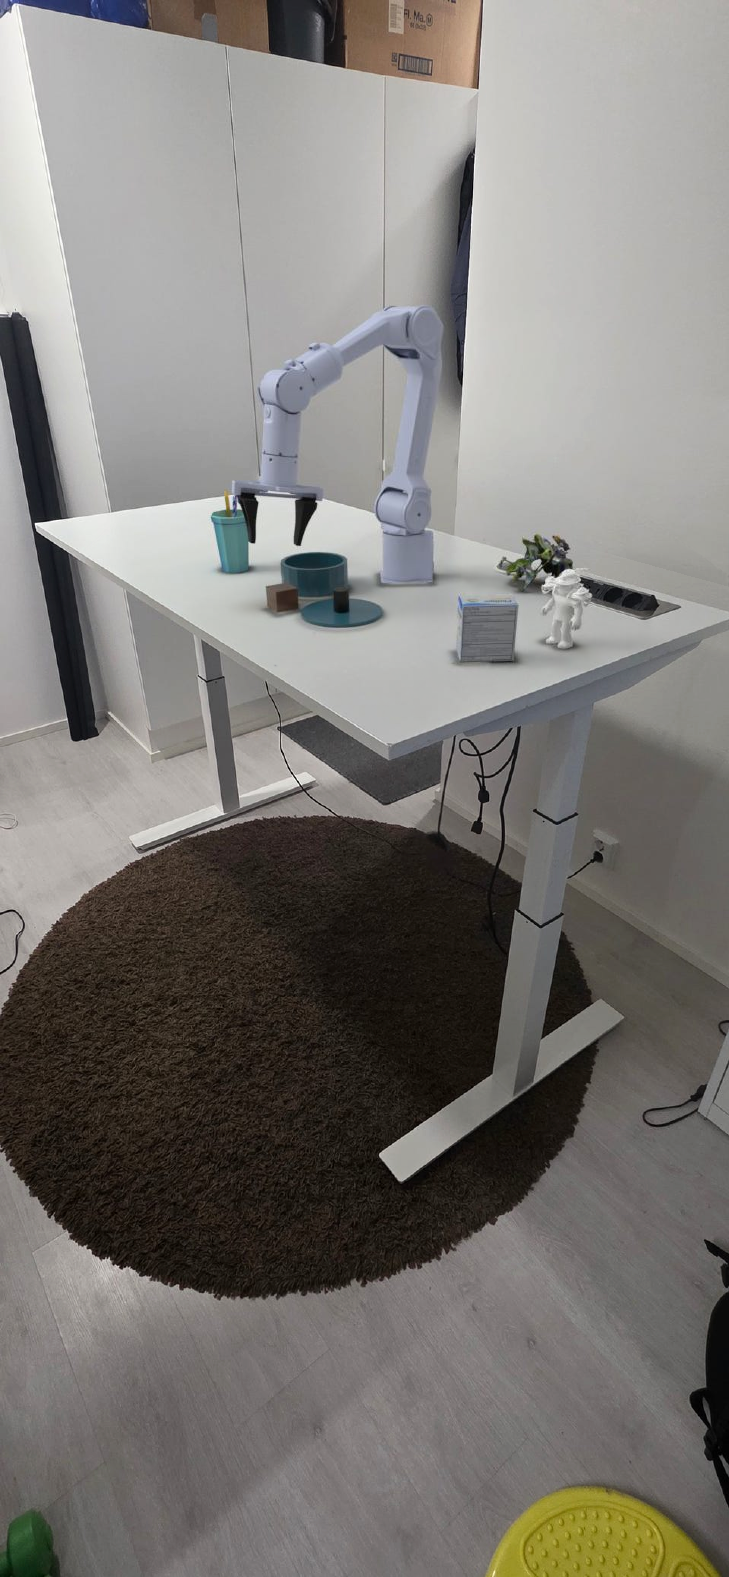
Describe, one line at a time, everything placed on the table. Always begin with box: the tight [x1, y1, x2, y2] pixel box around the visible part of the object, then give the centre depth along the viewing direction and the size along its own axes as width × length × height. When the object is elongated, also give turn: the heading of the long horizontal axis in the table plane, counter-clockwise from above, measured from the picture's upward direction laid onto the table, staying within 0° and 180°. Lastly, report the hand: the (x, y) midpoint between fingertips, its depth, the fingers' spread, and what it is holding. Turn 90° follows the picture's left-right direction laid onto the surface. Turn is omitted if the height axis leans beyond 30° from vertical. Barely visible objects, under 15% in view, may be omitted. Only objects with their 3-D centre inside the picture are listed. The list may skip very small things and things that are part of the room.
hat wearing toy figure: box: [540, 566, 593, 650], centre depth 119 cm, size 9×4×12 cm, turn 30°
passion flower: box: [498, 533, 575, 593], centre depth 144 cm, size 11×11×12 cm
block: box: [265, 582, 300, 613], centre depth 136 cm, size 4×4×4 cm
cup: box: [210, 490, 250, 574], centre depth 155 cm, size 14×8×15 cm, turn 25°
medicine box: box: [455, 593, 520, 664], centre depth 115 cm, size 8×4×9 cm, turn 92°
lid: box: [300, 587, 383, 628], centre depth 133 cm, size 13×13×5 cm
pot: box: [280, 551, 349, 599], centre depth 146 cm, size 12×12×5 cm
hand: (274, 543), depth 133 cm, fingers open, 7 cm apart
